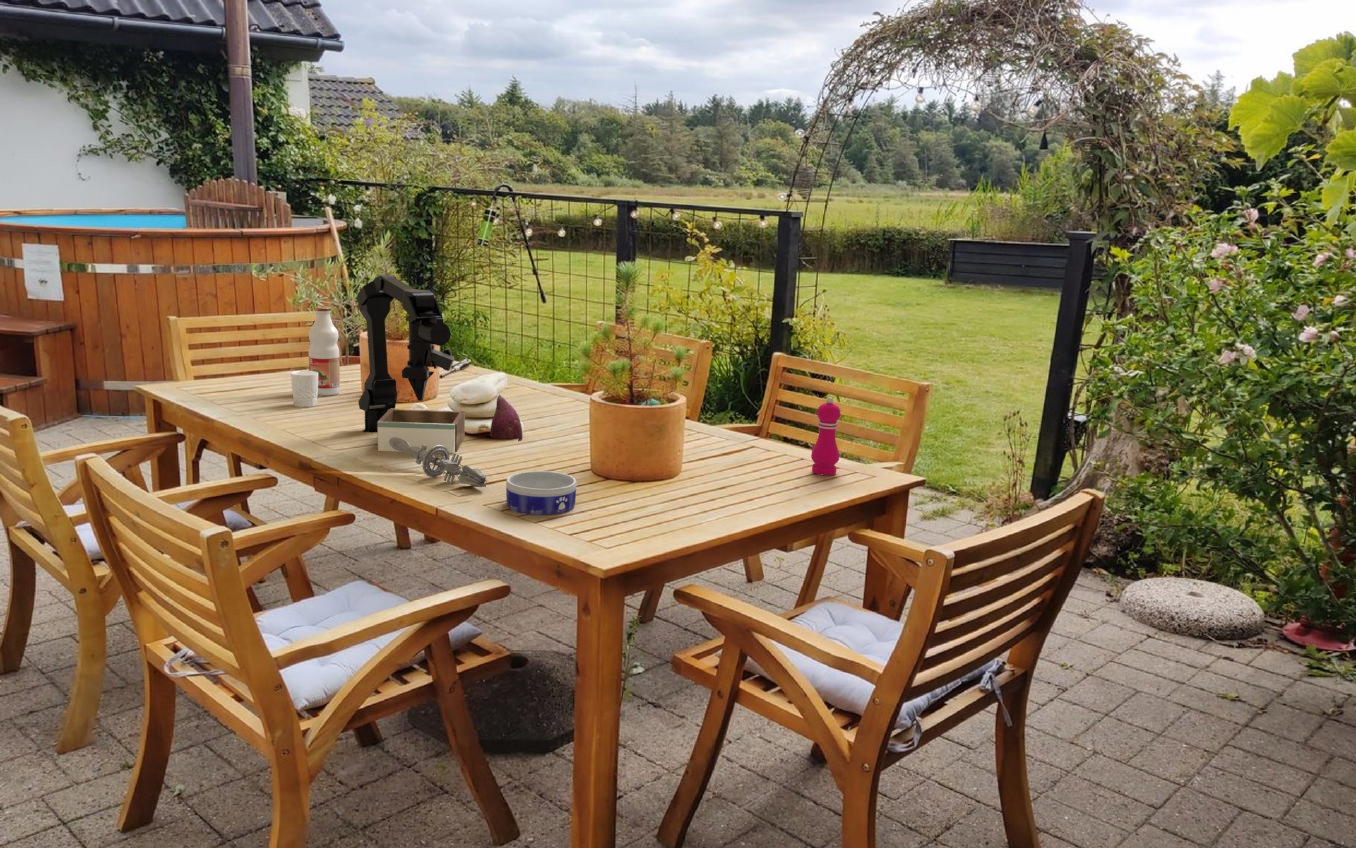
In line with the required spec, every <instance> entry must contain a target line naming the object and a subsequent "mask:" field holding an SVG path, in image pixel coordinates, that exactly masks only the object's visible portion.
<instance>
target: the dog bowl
mask: <svg viewBox="0 0 1356 848" xmlns="http://www.w3.org/2000/svg"><path fill="white" fill-rule="evenodd" d="M505 482H506V486H505V487H506V489H505V490H506V497H505V498H506V507H507V508H508V509H509V508H510V509H509V510H511V511H513V512H516V513H519V514H522V513H525V514H524V515H529V514H530V515H531V516H554V515H562V514H564V513H569V512H570V510H571V511H572V510H574V508H575V507H576V498H577V497H576V496H577V480H576V479H575V477H574V476H571V475H570V474H567V473H563V472H557V471H547V470H546V471H545V470H530V471H522V472H517V473H514V474H511V475H509V476H507V478H506V481H505Z"/></svg>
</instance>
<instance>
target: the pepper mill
mask: <svg viewBox="0 0 1356 848" xmlns="http://www.w3.org/2000/svg"><path fill="white" fill-rule="evenodd" d="M825 401H826V402H825V403H824V402H823V403H822V404H820V405H819V406H818V408H817V410H816V416H817V418H818V419H819V420H818V425H817V427H818V428H819V430H818V431H819V432H818V437H817V440H816V442H815V444H814V446H813V448H812V450H811V455H810V458H811V460H812V462H813V464H812V467H811V472H812V473H813V472H814V473H816V474H815V475H818V474H823V475H822V476H824V475H831V476H834V475H833V474H835V475H836V474H837V466H836V464H838V462H839V460H840V450H839V448H838V445H837V441H836V432H837V431H836V430H837V429H838V424H839V422H838V420H839V419H840V418H841V415H842V414H841V408H840V406H838V404H836V403H834V398H833V397H831V396H828V397H827V398H826V400H825ZM814 473H813V474H814Z"/></svg>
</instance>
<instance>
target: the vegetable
mask: <svg viewBox="0 0 1356 848" xmlns="http://www.w3.org/2000/svg"><path fill="white" fill-rule="evenodd" d="M495 406H496V407H495V412H494V414H493V417H492V419H491V424H490V425H491V426H490V433H489V434H490V435H489V437H490V438H492V439H497V440H506V441H507V440H508V441H509V440H510V441H511V440H518V441H517V442H520V441H522V440H523V427H522V422H521V419H520V416H519V414H518V413H517V410H516V409H515V408H514V406H512V405H511V403H509V402H508V401H507V400H506V399H505V397H503V396H502V395H501V394H498V397H497V398H496V405H495Z"/></svg>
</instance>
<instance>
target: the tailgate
mask: <svg viewBox="0 0 1356 848" xmlns="http://www.w3.org/2000/svg"><path fill="white" fill-rule="evenodd" d="M393 437H397V438H401V439H403V440H405V441H407V442H408V443H409V445H410V446H412V447H420V448H421V447H422V445H426V446H427V449H426V450H427V451H428V450H429V449H431V448H432V447H434V446H437V445H442V446H444V447H446V448H447V450H448V452H449V454H454V453H455V454H456V452H455V424H443V423H413V422H383V421H379V422H378V432H377V451H378V452H393V453H394V452H400V451H398V450H395V449H394V448H392V447H391V446H390V444H389V440H390V439H391V438H393ZM400 453H401V452H400ZM438 453H439V452H438ZM438 453H437V454H438Z"/></svg>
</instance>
